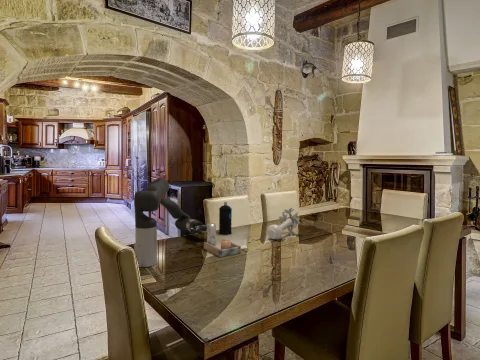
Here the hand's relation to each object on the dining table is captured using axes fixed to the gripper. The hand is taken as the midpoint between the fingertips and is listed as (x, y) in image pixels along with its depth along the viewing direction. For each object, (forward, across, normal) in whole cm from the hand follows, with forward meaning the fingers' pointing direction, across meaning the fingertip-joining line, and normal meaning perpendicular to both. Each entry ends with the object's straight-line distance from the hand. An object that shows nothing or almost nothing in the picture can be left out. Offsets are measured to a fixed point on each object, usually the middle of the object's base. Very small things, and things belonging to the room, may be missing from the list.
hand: (208, 232), depth 176 cm
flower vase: (+10, +47, +7) cm, 49 cm away
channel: (+14, 0, +7) cm, 16 cm away
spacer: (+18, 0, +7) cm, 19 cm away
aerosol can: (-16, +21, +7) cm, 27 cm away
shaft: (+4, 0, +7) cm, 8 cm away
